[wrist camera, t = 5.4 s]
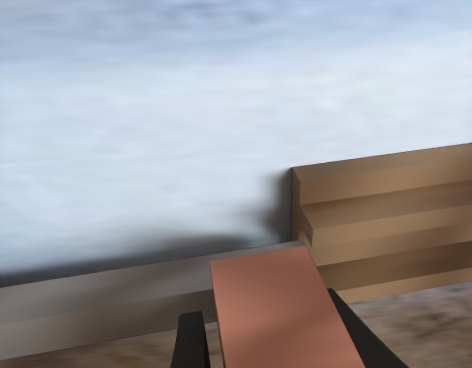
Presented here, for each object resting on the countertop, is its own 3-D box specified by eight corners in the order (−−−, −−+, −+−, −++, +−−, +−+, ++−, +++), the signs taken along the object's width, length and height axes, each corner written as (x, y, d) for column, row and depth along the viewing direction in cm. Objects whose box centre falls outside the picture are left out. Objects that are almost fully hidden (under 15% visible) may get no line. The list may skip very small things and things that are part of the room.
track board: (624, 122, 15) (694, 148, 13) (564, 235, 19) (613, 270, 17) (292, 167, 14) (314, 204, 12) (289, 282, 17) (306, 327, 15)
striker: (296, 147, 13) (431, 343, 6) (291, 304, 17) (369, 517, 11) (-189, 211, 11) (-658, 560, 5) (-61, 367, 16) (-218, 663, 9)
